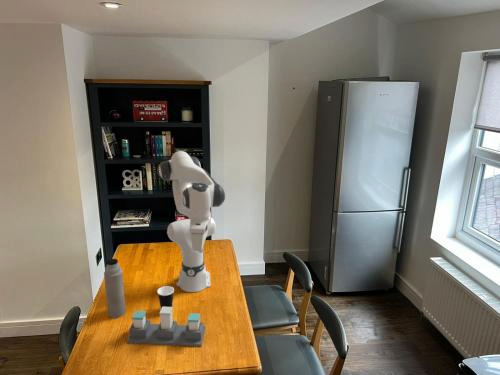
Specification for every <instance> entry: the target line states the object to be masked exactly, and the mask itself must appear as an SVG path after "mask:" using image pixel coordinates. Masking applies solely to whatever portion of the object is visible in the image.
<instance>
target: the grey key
mask: <svg viewBox="0 0 500 375" xmlns="http://www.w3.org/2000/svg"><path fill="white" fill-rule="evenodd" d="M173 310H174V307H173V306H172V307H162V309H161V308H160V311H159V316H160V322H161V329H167V330H171V328H172V325H173V321H174V320H173Z"/></svg>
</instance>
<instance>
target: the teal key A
mask: <svg viewBox="0 0 500 375" xmlns="http://www.w3.org/2000/svg"><path fill="white" fill-rule="evenodd" d="M146 314H147V311H145V310H135V311H134V312H133V315H132V318H131V319H132V321H133V322H132V323H134V328H144V327H145V325H146V320H147V319H146Z"/></svg>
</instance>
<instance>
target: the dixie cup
mask: <svg viewBox="0 0 500 375" xmlns="http://www.w3.org/2000/svg"><path fill="white" fill-rule="evenodd" d="M174 292H175V289H174V287H173V286H169V285H167V286H165V285H163V286H162V287H159V288H158V289H157V292H156V293H157V296H158V301H159V306H160V310H161V309H162V307H173V301H174V300H173V299H174Z"/></svg>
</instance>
